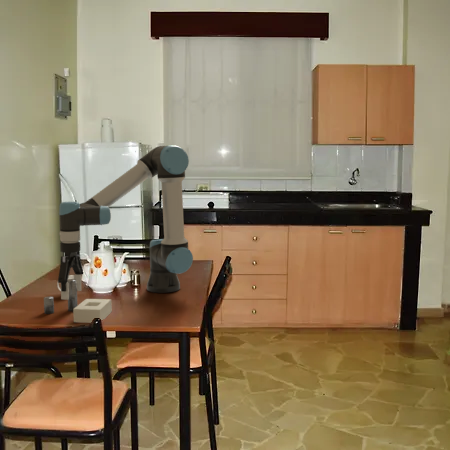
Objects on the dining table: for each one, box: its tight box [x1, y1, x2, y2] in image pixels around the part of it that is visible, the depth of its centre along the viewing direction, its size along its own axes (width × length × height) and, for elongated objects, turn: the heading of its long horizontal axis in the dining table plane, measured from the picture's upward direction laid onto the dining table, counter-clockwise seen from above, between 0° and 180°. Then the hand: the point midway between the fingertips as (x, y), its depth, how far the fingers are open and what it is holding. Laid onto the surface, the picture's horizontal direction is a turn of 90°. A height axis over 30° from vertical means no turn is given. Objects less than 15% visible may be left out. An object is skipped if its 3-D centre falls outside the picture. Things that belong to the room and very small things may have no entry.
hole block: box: [72, 298, 113, 324], centre depth 204 cm, size 10×14×5 cm
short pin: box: [43, 295, 55, 315], centre depth 210 cm, size 4×4×6 cm
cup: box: [56, 274, 75, 292], centre depth 237 cm, size 7×10×8 cm
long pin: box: [67, 279, 79, 312], centre depth 213 cm, size 4×4×12 cm
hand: (71, 294), depth 213 cm, fingers open, 13 cm apart
